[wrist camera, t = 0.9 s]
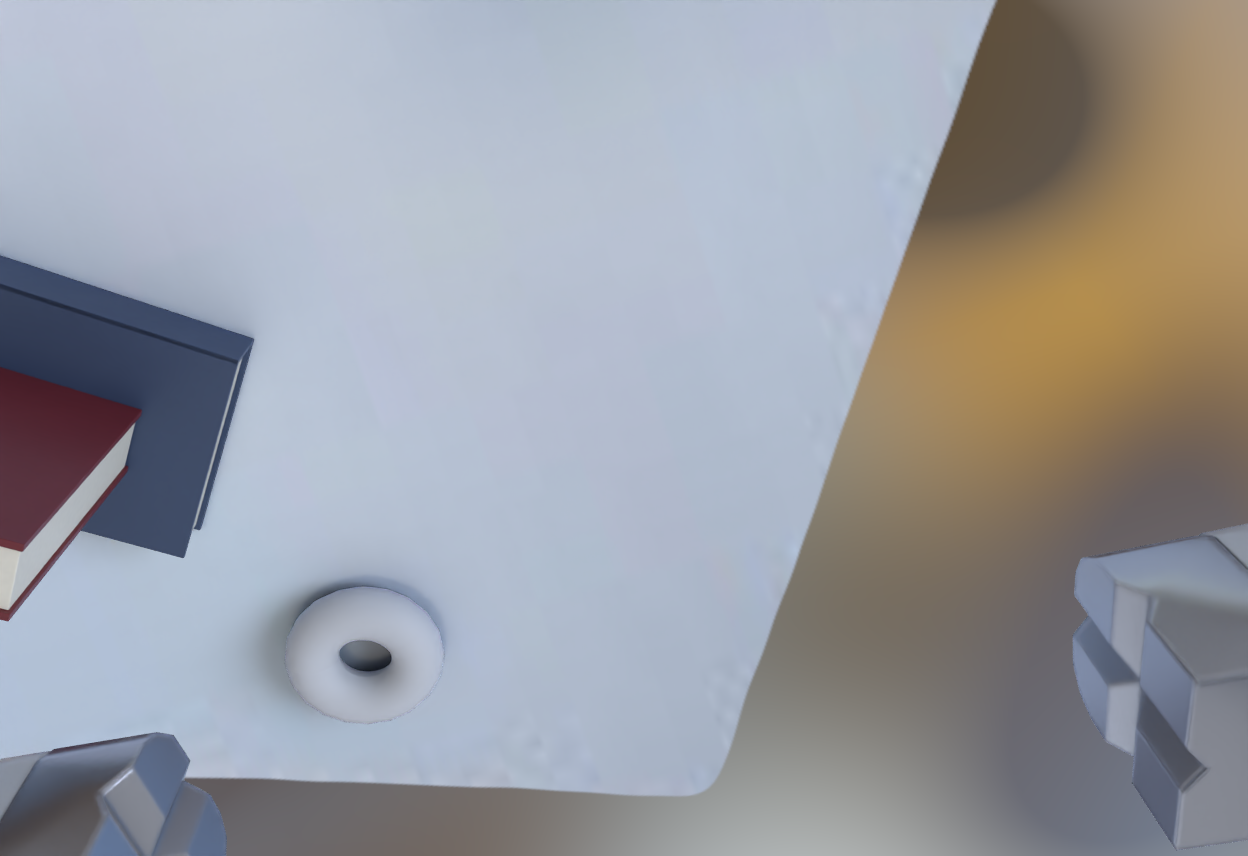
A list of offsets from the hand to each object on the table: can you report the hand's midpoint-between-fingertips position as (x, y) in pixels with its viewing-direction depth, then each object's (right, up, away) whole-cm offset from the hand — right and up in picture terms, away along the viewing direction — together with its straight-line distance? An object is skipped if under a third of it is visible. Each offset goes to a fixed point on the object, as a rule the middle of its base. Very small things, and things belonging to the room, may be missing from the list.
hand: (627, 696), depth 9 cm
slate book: (-32, +5, +46) cm, 56 cm away
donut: (-17, -11, +56) cm, 59 cm away
